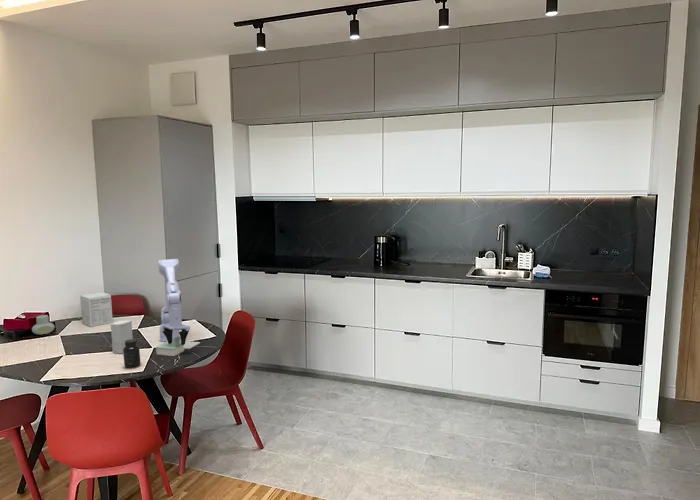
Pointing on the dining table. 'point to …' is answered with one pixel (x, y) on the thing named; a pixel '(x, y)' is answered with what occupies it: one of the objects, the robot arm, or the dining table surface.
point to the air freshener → (43, 325)
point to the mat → (190, 344)
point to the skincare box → (120, 335)
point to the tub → (170, 351)
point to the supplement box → (96, 309)
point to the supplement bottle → (131, 354)
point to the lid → (171, 345)
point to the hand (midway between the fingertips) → (176, 344)
